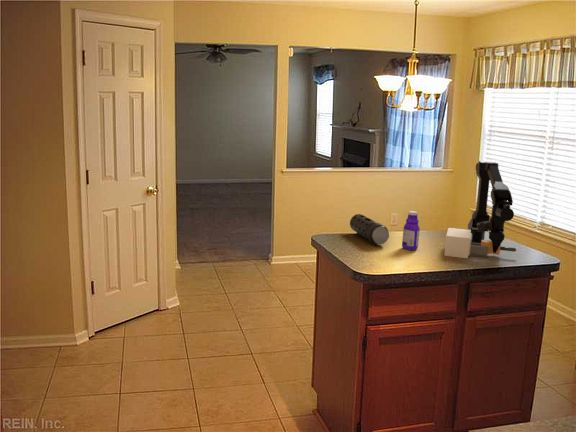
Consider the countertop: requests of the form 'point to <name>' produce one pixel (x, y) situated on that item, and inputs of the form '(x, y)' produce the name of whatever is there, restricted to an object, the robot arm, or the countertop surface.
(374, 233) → the muzzle brake
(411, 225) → the bottle
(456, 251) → the socket box
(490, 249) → the plug
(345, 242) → the countertop surface
